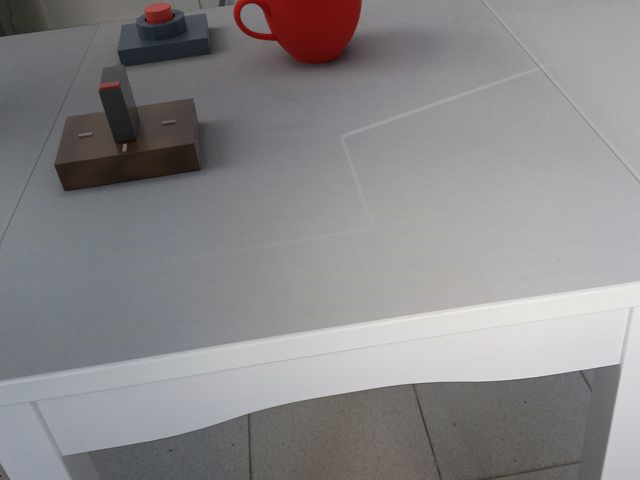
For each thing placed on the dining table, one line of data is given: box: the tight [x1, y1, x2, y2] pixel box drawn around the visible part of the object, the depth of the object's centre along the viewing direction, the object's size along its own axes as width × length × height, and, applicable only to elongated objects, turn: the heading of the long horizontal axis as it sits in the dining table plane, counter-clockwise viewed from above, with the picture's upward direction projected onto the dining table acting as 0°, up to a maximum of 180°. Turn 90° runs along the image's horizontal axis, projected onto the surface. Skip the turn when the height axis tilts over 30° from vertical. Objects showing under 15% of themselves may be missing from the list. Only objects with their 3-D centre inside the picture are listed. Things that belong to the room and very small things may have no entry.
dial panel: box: [53, 97, 202, 192], centre depth 77 cm, size 14×11×3 cm
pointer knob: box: [97, 64, 139, 143], centre depth 74 cm, size 6×2×6 cm, turn 10°
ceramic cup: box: [232, 0, 363, 64], centre depth 91 cm, size 13×17×10 cm
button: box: [143, 2, 174, 23], centre depth 98 cm, size 4×4×2 cm
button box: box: [116, 8, 212, 67], centre depth 100 cm, size 12×10×4 cm
